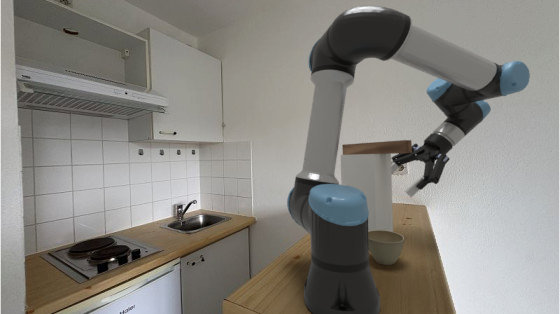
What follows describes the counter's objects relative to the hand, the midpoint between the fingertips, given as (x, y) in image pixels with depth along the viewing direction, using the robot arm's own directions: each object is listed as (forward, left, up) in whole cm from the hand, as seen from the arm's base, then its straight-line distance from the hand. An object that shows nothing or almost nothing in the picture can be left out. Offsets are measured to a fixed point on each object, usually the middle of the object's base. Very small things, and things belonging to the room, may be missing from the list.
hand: (394, 185), depth 77 cm
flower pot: (-16, -6, -19) cm, 26 cm away
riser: (-3, +9, -19) cm, 21 cm away
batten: (-3, +5, +11) cm, 13 cm away
